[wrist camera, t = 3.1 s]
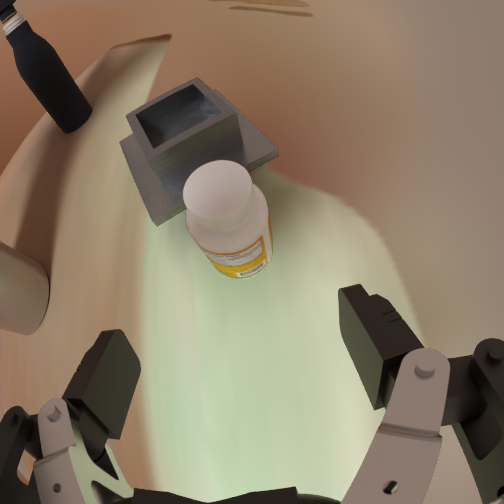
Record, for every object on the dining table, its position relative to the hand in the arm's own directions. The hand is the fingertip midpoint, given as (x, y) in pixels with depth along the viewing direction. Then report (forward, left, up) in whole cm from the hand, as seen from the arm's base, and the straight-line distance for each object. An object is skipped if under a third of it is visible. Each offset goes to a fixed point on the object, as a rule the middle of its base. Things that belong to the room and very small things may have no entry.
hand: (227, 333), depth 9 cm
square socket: (-9, +20, -12) cm, 25 cm away
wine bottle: (-33, +31, -13) cm, 47 cm away
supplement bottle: (-2, +8, -13) cm, 15 cm away
